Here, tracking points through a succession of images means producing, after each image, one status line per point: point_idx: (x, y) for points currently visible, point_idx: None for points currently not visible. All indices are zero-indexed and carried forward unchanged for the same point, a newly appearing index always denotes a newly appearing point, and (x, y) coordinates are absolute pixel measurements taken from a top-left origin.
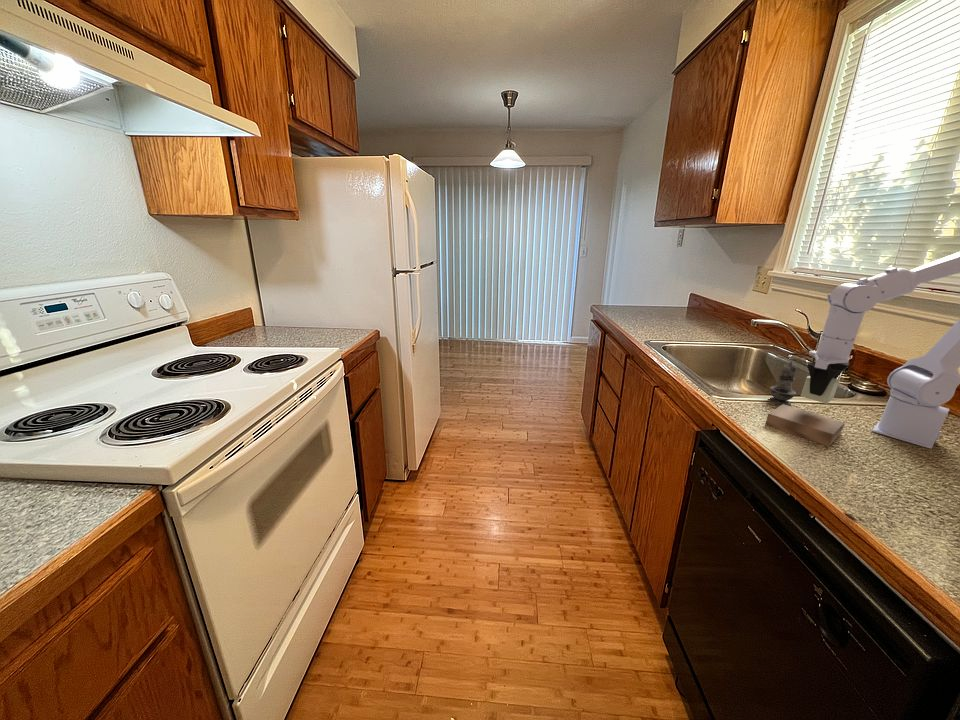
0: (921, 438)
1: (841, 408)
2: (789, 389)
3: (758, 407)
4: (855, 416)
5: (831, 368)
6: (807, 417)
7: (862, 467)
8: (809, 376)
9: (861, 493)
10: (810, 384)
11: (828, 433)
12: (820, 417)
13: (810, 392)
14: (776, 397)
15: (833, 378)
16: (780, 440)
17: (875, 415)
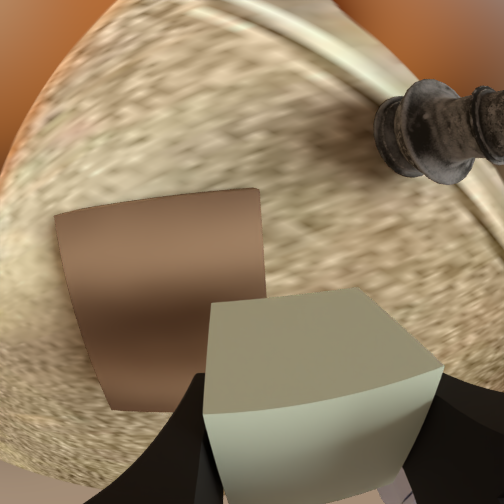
0: None
1: (489, 283)
2: (446, 156)
3: (255, 99)
4: (457, 328)
5: (452, 496)
6: (177, 327)
7: (97, 432)
8: (268, 418)
9: (18, 426)
10: (173, 415)
11: (108, 399)
12: None
13: (194, 378)
14: (394, 122)
15: (397, 467)
16: (26, 292)
17: (487, 340)
